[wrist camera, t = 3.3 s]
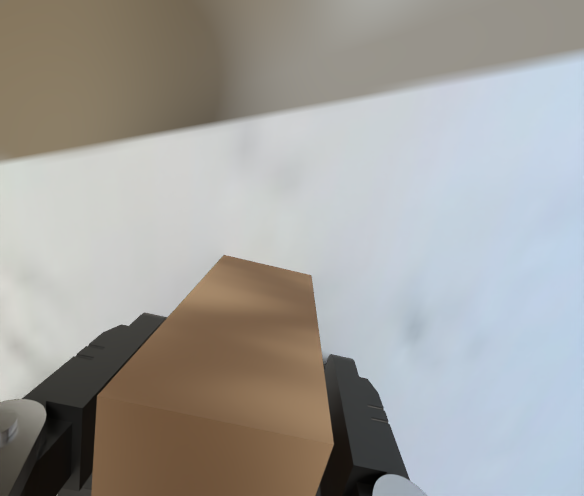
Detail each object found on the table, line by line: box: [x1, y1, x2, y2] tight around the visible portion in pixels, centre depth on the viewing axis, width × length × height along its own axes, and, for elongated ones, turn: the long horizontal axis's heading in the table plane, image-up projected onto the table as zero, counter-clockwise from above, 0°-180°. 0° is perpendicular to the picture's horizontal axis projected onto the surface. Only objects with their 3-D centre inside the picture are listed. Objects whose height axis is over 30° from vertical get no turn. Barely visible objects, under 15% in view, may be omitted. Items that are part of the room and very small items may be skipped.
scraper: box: [58, 255, 334, 496], centre depth 7 cm, size 8×8×6 cm
